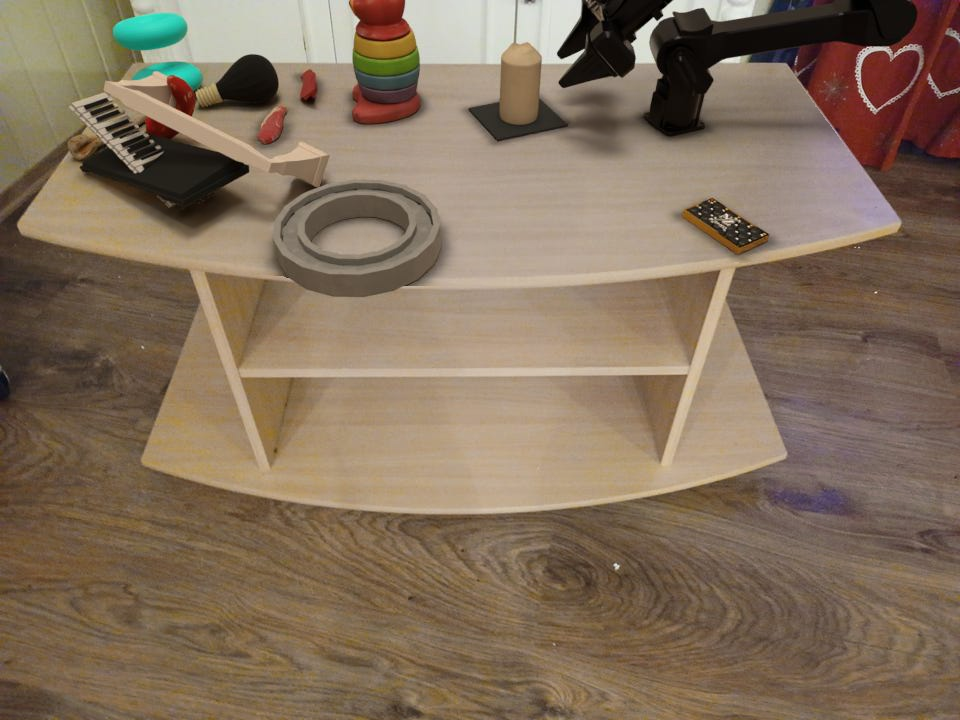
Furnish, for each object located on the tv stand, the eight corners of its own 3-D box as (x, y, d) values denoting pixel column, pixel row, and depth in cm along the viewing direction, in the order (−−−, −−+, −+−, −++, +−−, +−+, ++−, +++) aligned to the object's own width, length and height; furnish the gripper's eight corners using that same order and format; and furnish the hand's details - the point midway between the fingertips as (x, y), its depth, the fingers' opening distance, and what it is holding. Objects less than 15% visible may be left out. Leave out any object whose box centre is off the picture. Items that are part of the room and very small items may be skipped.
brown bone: (159, 89, 104) (176, 98, 104) (161, 106, 106) (177, 114, 106) (62, 138, 93) (80, 148, 93) (66, 156, 95) (84, 166, 95)
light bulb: (180, 71, 101) (262, 43, 101) (194, 80, 108) (271, 53, 108) (200, 119, 103) (280, 91, 103) (212, 125, 109) (288, 98, 109)
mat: (535, 96, 110) (535, 94, 109) (567, 126, 103) (568, 124, 103) (468, 109, 106) (468, 107, 106) (497, 141, 100) (497, 139, 100)
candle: (491, 118, 104) (493, 47, 97) (512, 103, 107) (515, 34, 100) (525, 129, 102) (529, 57, 95) (544, 114, 105) (550, 43, 98)
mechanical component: (473, 252, 82) (473, 230, 80) (330, 320, 74) (326, 298, 72) (383, 184, 92) (381, 163, 90) (249, 238, 84) (243, 216, 81)
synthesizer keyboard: (180, 202, 80) (198, 262, 88) (249, 158, 85) (259, 220, 93) (53, 108, 85) (81, 174, 93) (124, 73, 90) (145, 138, 98)
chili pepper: (306, 99, 104) (317, 108, 105) (325, 73, 104) (336, 82, 105) (288, 92, 114) (298, 100, 115) (306, 68, 113) (316, 76, 115)
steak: (274, 139, 98) (252, 140, 98) (275, 143, 99) (254, 144, 99) (291, 104, 105) (270, 105, 105) (292, 108, 105) (271, 109, 105)
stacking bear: (352, 90, 110) (337, -38, 98) (419, 88, 111) (413, -40, 99) (352, 125, 103) (336, -10, 90) (424, 122, 104) (418, -12, 91)
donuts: (192, 78, 114) (127, 93, 109) (171, 8, 108) (101, 21, 103) (214, 89, 107) (146, 106, 102) (193, 15, 101) (119, 30, 97)
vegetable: (127, 118, 97) (167, 65, 90) (167, 128, 101) (208, 77, 94) (133, 148, 96) (173, 96, 89) (172, 156, 100) (214, 108, 93)
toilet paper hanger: (89, 98, 86) (95, 62, 84) (151, 104, 95) (158, 71, 94) (273, 191, 82) (284, 155, 80) (319, 187, 91) (329, 155, 90)
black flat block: (683, 208, 87) (712, 196, 89) (681, 216, 88) (710, 204, 90) (740, 246, 82) (770, 233, 83) (737, 254, 82) (767, 241, 84)
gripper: (609, -88, 94) (520, 1, 102) (621, -41, 81) (518, 56, 89) (659, -21, 100) (571, 58, 108) (679, 33, 86) (576, 118, 95)
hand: (559, 70), depth 100 cm, fingers open, 9 cm apart
